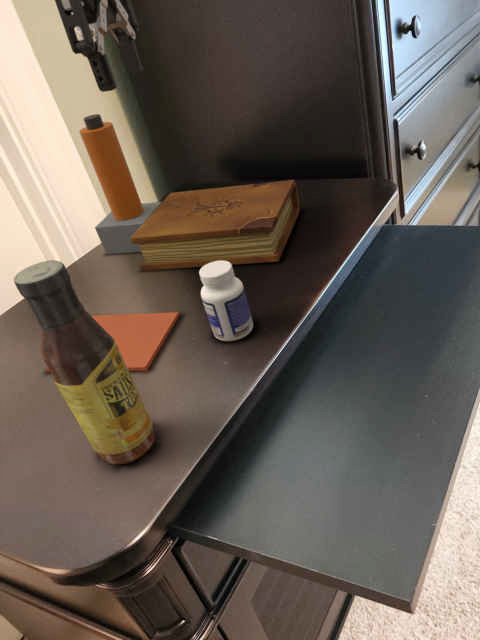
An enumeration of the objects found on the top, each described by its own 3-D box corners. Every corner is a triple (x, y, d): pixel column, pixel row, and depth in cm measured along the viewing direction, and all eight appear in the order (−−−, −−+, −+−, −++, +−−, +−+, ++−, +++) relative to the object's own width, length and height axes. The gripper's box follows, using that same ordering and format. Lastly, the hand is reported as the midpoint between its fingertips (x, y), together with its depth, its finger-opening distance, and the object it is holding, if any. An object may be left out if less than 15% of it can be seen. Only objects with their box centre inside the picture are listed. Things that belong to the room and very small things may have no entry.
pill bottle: (255, 316, 69) (239, 254, 63) (252, 339, 65) (235, 276, 59) (216, 321, 70) (197, 261, 64) (211, 345, 66) (190, 282, 60)
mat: (48, 372, 67) (45, 368, 67) (90, 319, 76) (89, 315, 75) (147, 370, 64) (145, 367, 63) (179, 315, 72) (178, 311, 72)
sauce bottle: (150, 465, 52) (57, 289, 39) (91, 470, 52) (-20, 300, 39) (164, 419, 56) (86, 248, 43) (110, 424, 57) (17, 259, 44)
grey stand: (106, 254, 92) (94, 227, 89) (127, 231, 98) (116, 205, 95) (152, 251, 90) (142, 223, 87) (170, 228, 96) (161, 201, 93)
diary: (300, 211, 93) (295, 177, 89) (278, 262, 79) (271, 226, 76) (181, 220, 98) (171, 190, 94) (142, 270, 85) (129, 237, 81)
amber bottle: (109, 221, 90) (68, 123, 79) (121, 209, 93) (84, 114, 83) (136, 219, 88) (99, 119, 78) (148, 206, 92) (113, 109, 82)
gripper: (69, -79, 64) (120, 73, 75) (1, -76, 54) (71, 100, 64) (124, -92, 62) (168, 66, 73) (65, -92, 52) (126, 92, 63)
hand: (122, 82), depth 69 cm, fingers open, 8 cm apart
